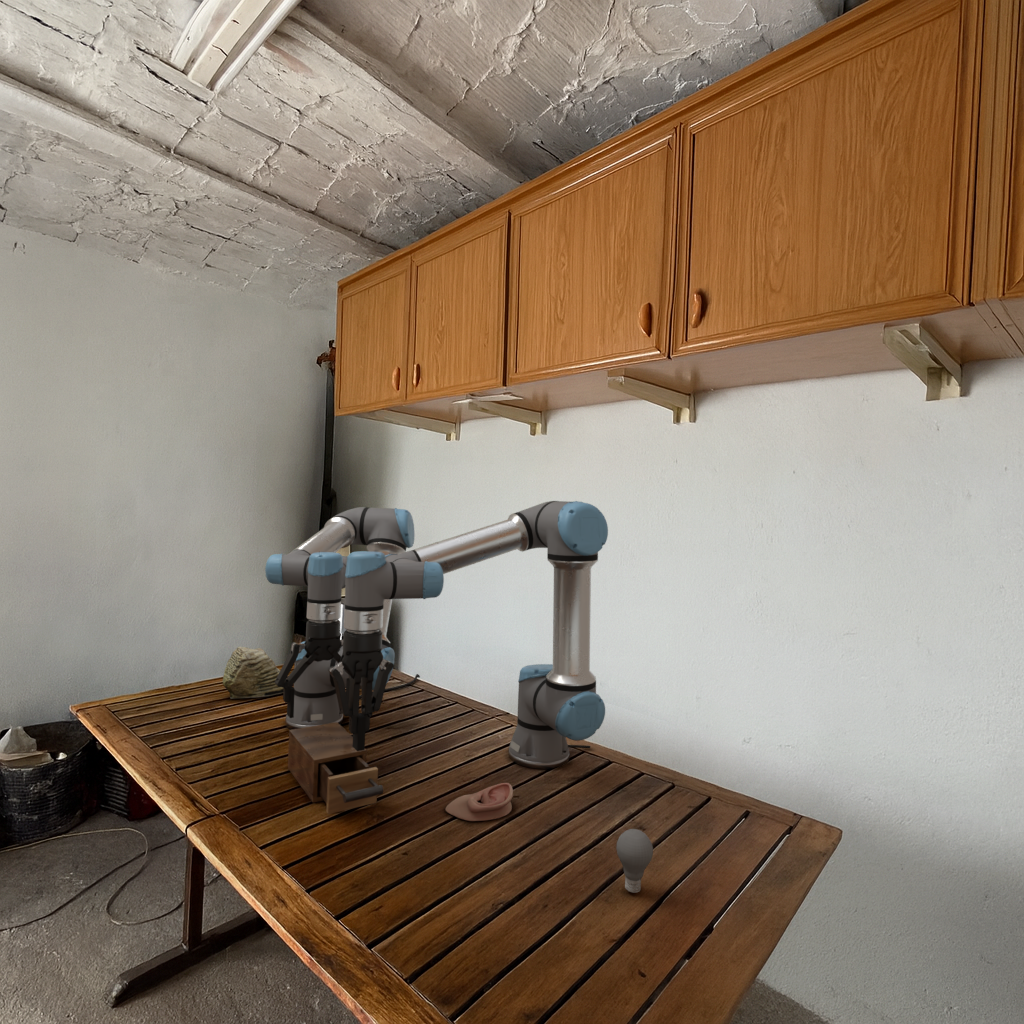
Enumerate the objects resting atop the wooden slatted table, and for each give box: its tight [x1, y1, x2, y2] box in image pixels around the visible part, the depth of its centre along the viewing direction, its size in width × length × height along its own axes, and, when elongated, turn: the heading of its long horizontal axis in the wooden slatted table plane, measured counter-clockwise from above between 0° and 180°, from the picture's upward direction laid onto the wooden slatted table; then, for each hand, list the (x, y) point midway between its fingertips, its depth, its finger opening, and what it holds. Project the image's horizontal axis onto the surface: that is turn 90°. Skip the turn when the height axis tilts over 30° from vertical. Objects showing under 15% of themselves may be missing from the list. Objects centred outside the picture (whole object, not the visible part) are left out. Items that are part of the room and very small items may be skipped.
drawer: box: [317, 756, 384, 815], centre depth 132 cm, size 24×10×7 cm, turn 34°
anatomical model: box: [444, 782, 514, 822], centre depth 131 cm, size 13×4×12 cm
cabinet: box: [287, 722, 367, 803], centre depth 142 cm, size 19×11×9 cm, turn 34°
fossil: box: [222, 646, 283, 699], centre depth 198 cm, size 9×18×15 cm, turn 132°
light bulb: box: [615, 828, 654, 894], centre depth 106 cm, size 6×6×10 cm
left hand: (320, 711), depth 146 cm, fingers open, 13 cm apart
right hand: (358, 748), depth 126 cm, fingers closed
